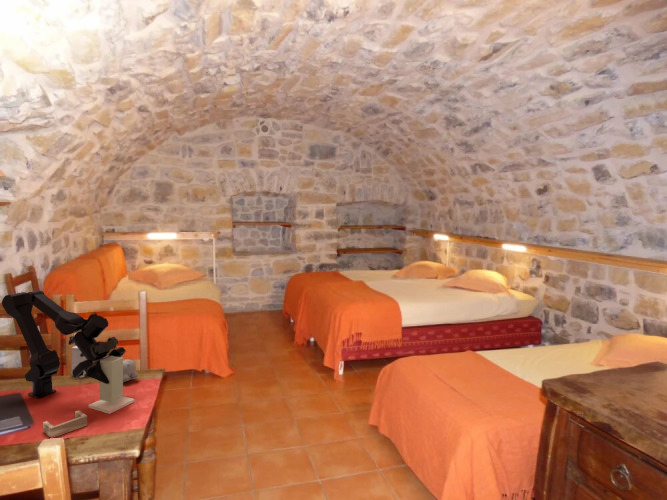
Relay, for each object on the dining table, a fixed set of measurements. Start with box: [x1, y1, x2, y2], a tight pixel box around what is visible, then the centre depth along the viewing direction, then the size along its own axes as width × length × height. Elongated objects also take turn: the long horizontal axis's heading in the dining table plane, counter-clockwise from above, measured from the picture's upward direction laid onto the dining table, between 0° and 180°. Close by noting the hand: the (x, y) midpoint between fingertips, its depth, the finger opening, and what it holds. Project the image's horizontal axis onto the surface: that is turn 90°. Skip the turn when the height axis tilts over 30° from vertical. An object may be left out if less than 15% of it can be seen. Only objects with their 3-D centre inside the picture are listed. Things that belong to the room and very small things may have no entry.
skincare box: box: [71, 345, 87, 379], centre depth 169 cm, size 6×4×12 cm
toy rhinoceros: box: [123, 359, 139, 383], centre depth 166 cm, size 7×12×8 cm, turn 54°
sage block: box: [99, 356, 124, 402], centre depth 144 cm, size 5×5×14 cm
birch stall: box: [42, 410, 88, 439], centre depth 128 cm, size 6×10×3 cm, turn 145°
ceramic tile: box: [88, 395, 135, 415], centre depth 144 cm, size 10×10×1 cm
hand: (114, 380), depth 143 cm, fingers closed on sage block, 5 cm apart
